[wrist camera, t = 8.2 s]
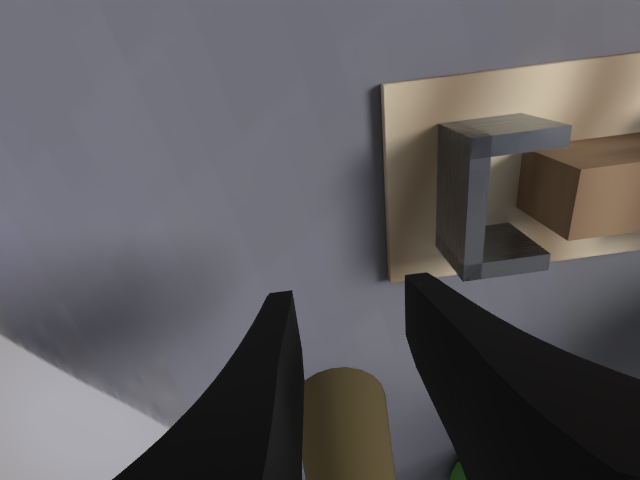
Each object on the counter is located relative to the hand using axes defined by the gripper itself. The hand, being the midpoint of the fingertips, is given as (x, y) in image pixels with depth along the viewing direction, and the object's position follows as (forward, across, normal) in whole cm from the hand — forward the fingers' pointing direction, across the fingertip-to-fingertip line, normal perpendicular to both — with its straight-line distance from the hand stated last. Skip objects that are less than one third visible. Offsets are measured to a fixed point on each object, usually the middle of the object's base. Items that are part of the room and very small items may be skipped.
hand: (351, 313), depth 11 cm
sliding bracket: (+9, -7, 0) cm, 11 cm away
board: (+9, -12, 0) cm, 15 cm away
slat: (+9, -14, 0) cm, 17 cm away
